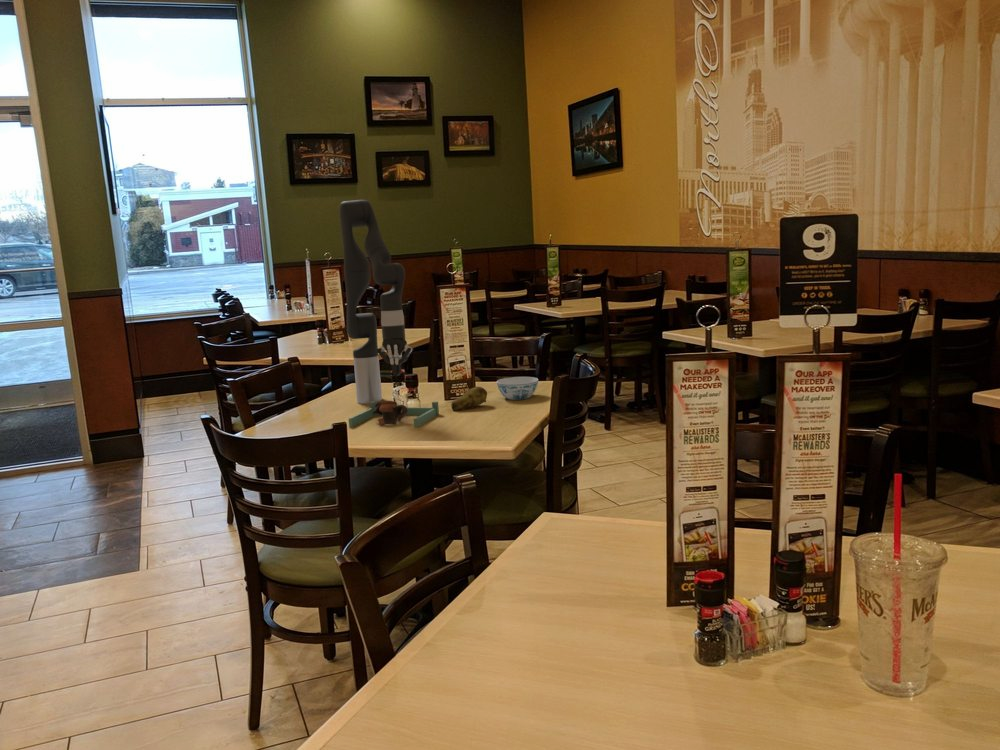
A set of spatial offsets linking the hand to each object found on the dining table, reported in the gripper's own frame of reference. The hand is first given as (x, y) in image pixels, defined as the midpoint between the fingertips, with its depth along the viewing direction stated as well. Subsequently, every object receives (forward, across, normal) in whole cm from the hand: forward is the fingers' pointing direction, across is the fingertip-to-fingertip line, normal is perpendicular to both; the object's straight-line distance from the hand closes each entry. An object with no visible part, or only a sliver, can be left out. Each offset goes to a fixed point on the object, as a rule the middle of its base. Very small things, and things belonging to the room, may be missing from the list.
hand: (396, 375), depth 279 cm
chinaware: (+15, -33, -30) cm, 47 cm away
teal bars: (+15, 0, +5) cm, 16 cm away
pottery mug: (+16, -1, +8) cm, 18 cm away
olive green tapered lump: (+15, -20, -14) cm, 29 cm away
